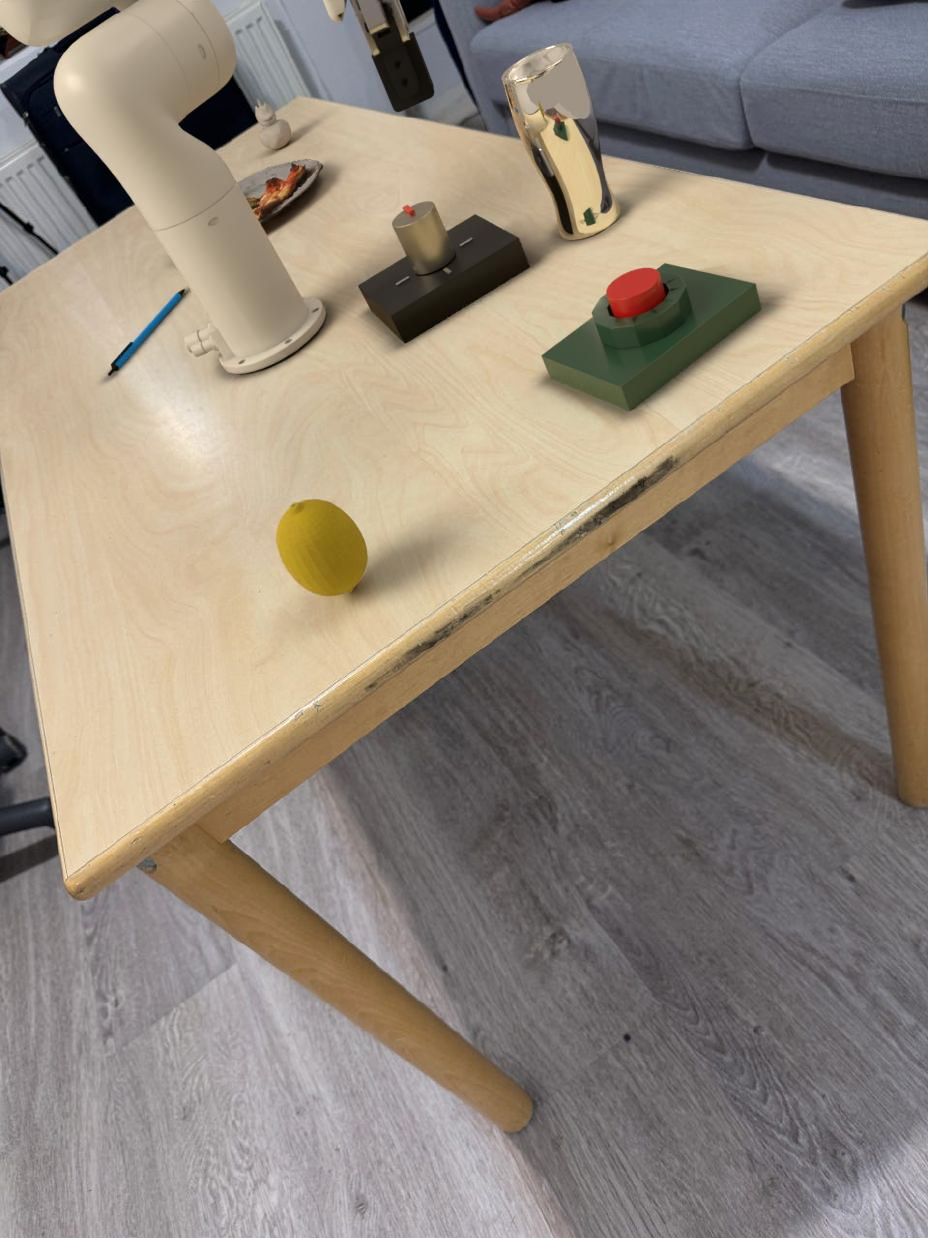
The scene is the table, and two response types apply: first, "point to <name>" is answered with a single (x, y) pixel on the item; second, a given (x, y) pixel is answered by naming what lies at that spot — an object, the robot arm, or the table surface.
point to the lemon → (321, 547)
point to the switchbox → (651, 337)
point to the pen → (144, 333)
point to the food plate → (278, 186)
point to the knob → (423, 237)
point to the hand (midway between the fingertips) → (415, 100)
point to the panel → (445, 279)
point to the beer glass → (562, 138)
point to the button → (635, 292)
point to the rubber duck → (272, 127)
